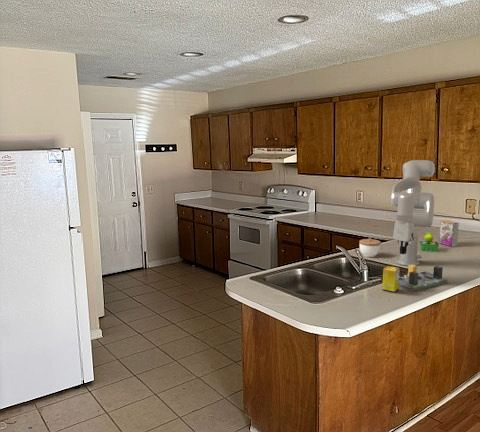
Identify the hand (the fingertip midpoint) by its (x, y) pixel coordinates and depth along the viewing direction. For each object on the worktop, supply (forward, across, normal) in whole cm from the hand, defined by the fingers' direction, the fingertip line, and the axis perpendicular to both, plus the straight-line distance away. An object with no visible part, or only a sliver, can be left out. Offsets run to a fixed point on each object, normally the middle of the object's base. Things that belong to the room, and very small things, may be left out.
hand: (402, 253), depth 228 cm
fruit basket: (+12, -30, +60) cm, 68 cm away
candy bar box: (+11, -32, +82) cm, 89 cm away
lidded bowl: (+12, -40, +18) cm, 46 cm away
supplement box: (+14, +10, -19) cm, 26 cm away
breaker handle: (+11, +6, +1) cm, 13 cm away
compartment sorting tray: (+13, +10, +1) cm, 17 cm away
